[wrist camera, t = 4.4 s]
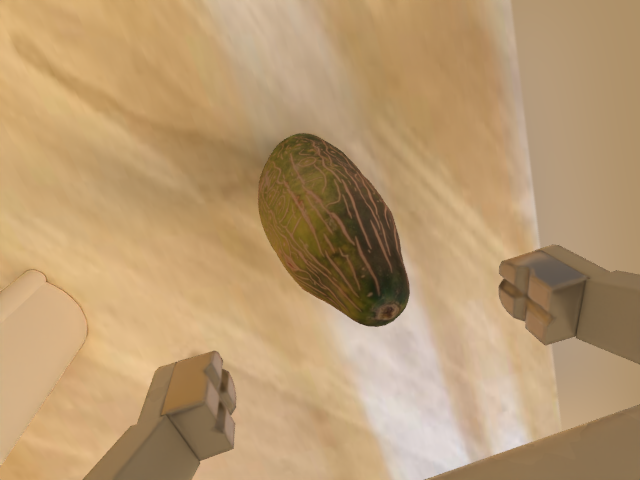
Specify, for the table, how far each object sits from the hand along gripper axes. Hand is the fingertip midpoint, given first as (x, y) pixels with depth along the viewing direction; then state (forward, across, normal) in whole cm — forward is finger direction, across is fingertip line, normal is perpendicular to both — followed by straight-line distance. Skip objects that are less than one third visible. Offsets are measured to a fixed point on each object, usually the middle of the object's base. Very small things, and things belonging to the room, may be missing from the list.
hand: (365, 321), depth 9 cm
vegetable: (+21, 0, 0) cm, 21 cm away
